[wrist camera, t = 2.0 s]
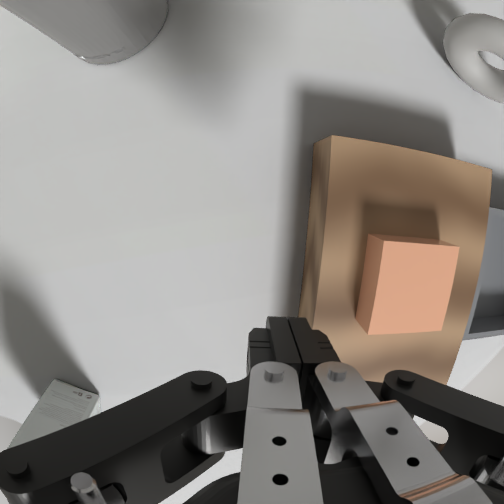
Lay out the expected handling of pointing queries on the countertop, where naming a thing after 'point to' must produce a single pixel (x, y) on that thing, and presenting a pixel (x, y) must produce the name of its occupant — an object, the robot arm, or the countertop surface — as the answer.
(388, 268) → the tile
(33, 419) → the skincare box
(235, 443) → the robot arm
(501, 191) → the countertop surface
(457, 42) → the donut
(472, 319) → the bin
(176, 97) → the countertop surface
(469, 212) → the chopping block
